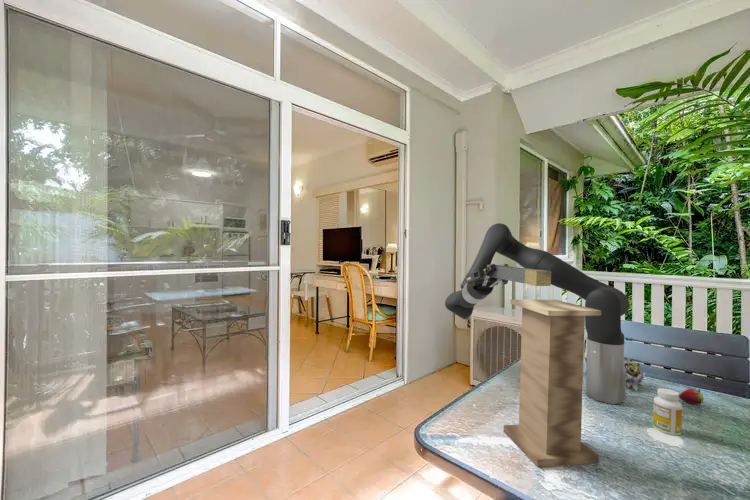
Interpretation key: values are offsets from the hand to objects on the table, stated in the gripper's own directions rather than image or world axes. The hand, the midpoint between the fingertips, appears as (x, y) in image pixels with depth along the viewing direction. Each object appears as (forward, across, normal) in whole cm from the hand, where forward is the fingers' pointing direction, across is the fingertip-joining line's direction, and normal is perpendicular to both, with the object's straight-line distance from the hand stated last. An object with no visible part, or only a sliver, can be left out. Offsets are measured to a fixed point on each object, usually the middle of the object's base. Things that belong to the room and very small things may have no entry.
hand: (500, 266), depth 96 cm
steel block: (+5, 0, +6) cm, 8 cm away
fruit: (-13, +58, +38) cm, 70 cm away
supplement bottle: (-3, +35, +44) cm, 56 cm away
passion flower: (-25, +49, +31) cm, 63 cm away
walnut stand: (0, 0, +45) cm, 45 cm away
